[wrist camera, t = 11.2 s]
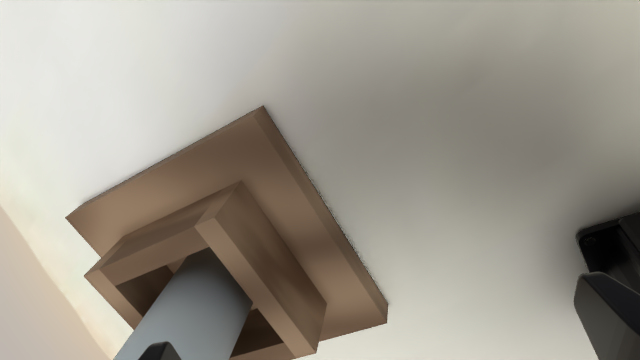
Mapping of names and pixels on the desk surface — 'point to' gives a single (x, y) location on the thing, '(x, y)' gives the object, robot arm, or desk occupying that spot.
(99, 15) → the desk surface
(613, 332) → the robot arm
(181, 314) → the peg
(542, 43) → the desk surface
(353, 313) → the cradle jig
